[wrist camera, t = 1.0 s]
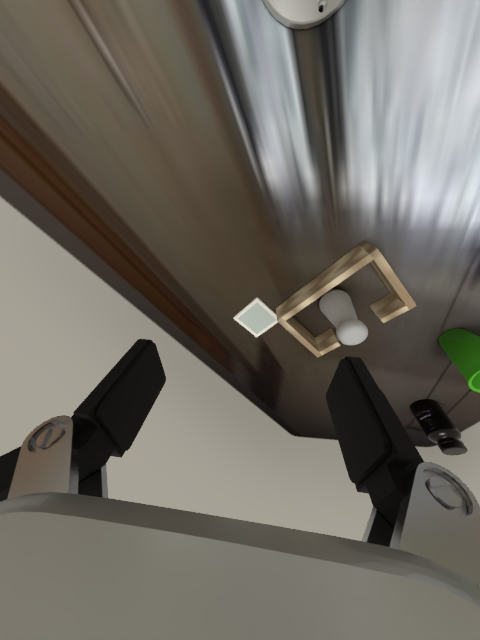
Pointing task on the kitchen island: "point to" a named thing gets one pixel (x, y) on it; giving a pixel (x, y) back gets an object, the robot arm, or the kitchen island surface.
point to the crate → (333, 276)
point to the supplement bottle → (438, 427)
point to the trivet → (256, 317)
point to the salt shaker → (343, 317)
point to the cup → (464, 354)
